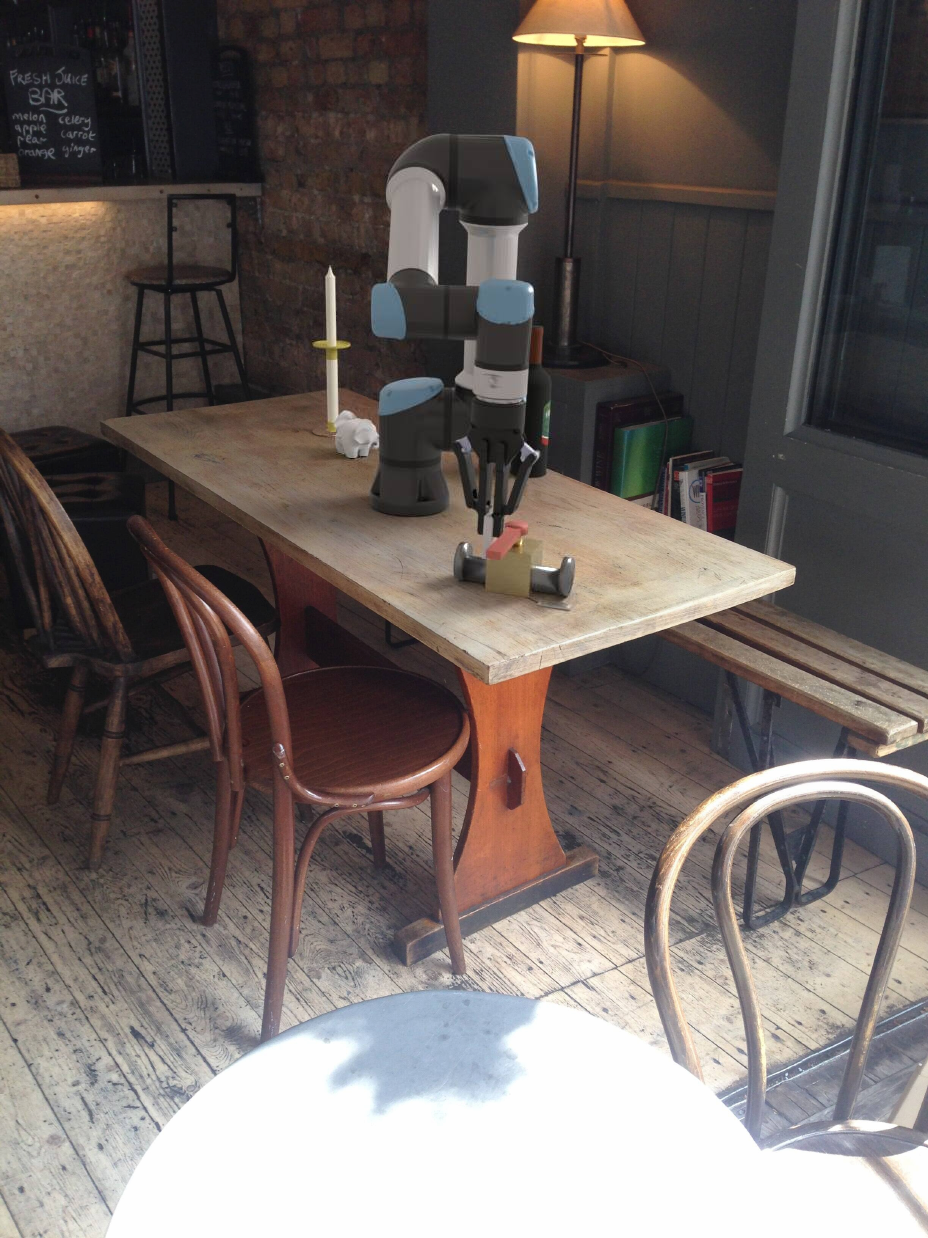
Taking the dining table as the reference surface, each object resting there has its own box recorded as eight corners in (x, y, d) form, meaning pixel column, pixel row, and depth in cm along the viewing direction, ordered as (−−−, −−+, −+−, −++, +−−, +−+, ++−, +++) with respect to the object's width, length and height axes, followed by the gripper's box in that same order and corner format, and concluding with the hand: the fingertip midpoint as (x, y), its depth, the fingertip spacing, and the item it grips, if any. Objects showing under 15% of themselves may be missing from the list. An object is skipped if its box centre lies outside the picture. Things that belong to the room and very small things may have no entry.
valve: (446, 590, 169) (448, 537, 166) (466, 570, 177) (467, 519, 174) (569, 610, 164) (573, 555, 160) (583, 588, 172) (587, 536, 168)
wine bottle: (508, 467, 233) (515, 323, 221) (543, 467, 234) (552, 323, 221) (512, 477, 226) (519, 329, 214) (548, 477, 227) (558, 329, 215)
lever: (507, 527, 170) (508, 519, 170) (530, 530, 169) (530, 522, 169) (481, 557, 158) (481, 549, 157) (505, 560, 157) (505, 553, 156)
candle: (352, 438, 251) (350, 267, 236) (308, 436, 251) (303, 266, 236) (356, 427, 260) (355, 262, 245) (314, 425, 260) (310, 261, 245)
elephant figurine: (393, 456, 238) (393, 415, 235) (344, 463, 232) (343, 421, 229) (371, 445, 246) (371, 406, 242) (323, 452, 239) (322, 412, 236)
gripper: (446, 396, 150) (438, 556, 160) (535, 408, 146) (522, 572, 156) (465, 386, 157) (457, 541, 166) (551, 397, 153) (537, 555, 162)
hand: (488, 556), depth 161 cm, fingers closed
